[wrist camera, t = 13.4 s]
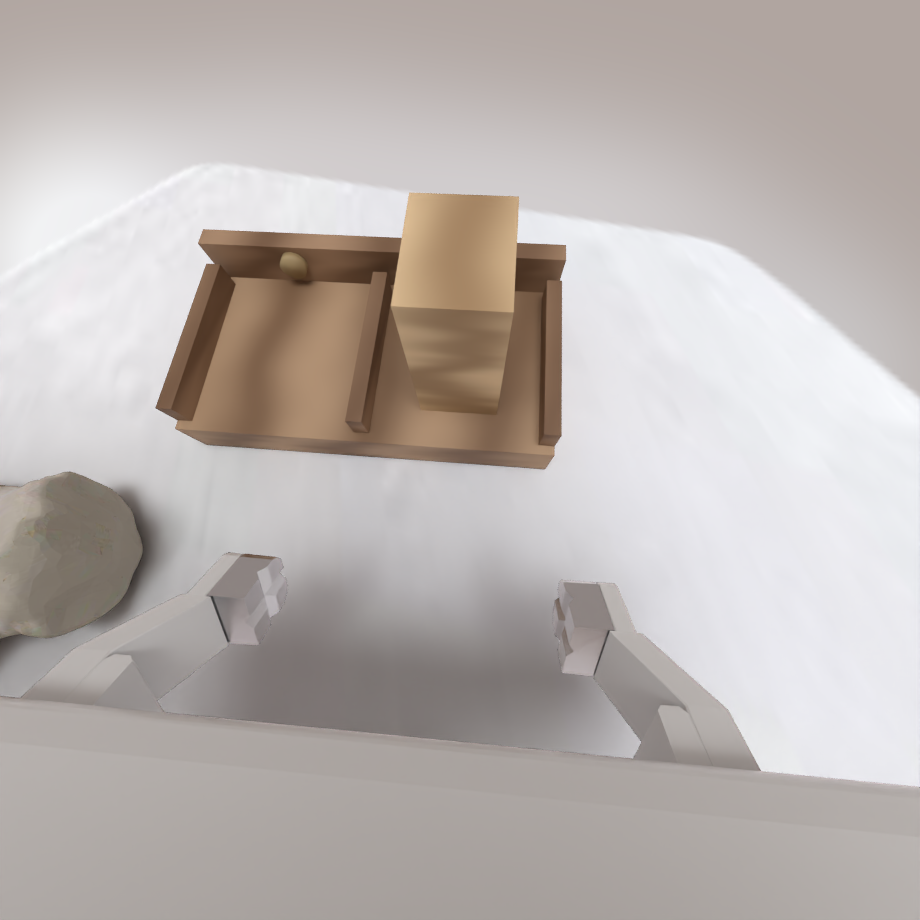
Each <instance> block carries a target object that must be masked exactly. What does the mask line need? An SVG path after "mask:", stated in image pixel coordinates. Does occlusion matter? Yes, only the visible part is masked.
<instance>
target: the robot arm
mask: <svg viewBox="0 0 920 920" xmlns="http://www.w3.org/2000/svg"><path fill="white" fill-rule="evenodd" d="M282 569H283V564H282V560H281V559H280V558H278V557H271V556H261V555H252V554H239V553H230V552H228V553H226V554H224V555H222V556H221V557H220V558H219V560H218V561H217V562H216V563H215V564H214V565H213V566H212V567H211V568H210V569H209V570H208V571H207V573H206V574H205V575H204V576H203V577H202V578H201V579H200V580H199V581H198V582H197V583H196V584H195V585H194V587H193V588H192V589H191V590H190V591H189V592H188V593H187V594H180V595H178V596H176V597H174V598H172V599H170V600H168V601H166V602H164V603H162V604H160V605H158V606H157V607H155V608H153V609H151V610H149V611H147V612H145V613H143V614H141V615H139V616H137V617H135V618H133V619H131V620H129V621H127V622H125V623H123V624H121V625H119V626H117V627H115V628H113V629H111V630H109V631H107V632H105V633H103V634H101V635H99V636H97V637H95V638H94V639H92V640H90V641H88V642H86V643H84V644H82V645H80V646H78V647H76V648H74V649H73V650H72V651H71V652H70V653H68V654H67V655H66V656H65V657H64V658H63V659H62V660H61V661H60V662H59V663H58V664H57V665H55V666H54V667H53V668H52V669H51V670H50V671H49V672H48V673H47V674H46V675H45V676H44V677H42V678H41V679H40V680H39V681H38V682H37V683H36V684H35V685H34V686H33V687H32V688H31V689H29V690H28V691H27V692H26V693H25V694H24V695H23V696H22V697H21V698H14V697H4V696H0V920H920V787H916V786H906V785H896V784H886V783H875V782H865V781H855V780H845V779H835V778H824V777H814V776H804V775H794V774H784V773H773V772H763V771H761V770H760V768H759V766H758V765H757V763H756V761H755V759H754V757H753V755H752V753H751V752H750V750H749V748H748V746H747V744H746V742H745V740H744V739H743V737H742V735H741V733H740V731H739V729H738V727H737V726H736V724H735V722H734V720H733V718H732V716H731V714H730V713H729V711H728V709H727V708H725V707H724V706H723V705H722V704H721V703H720V702H719V701H718V700H716V699H715V698H714V697H713V696H712V695H711V694H710V693H709V692H707V691H706V690H705V689H704V688H703V687H702V686H701V685H700V684H698V683H697V682H696V681H695V680H694V679H693V678H692V677H691V676H689V675H688V674H687V673H686V672H685V671H684V670H683V669H682V668H680V667H679V666H678V665H677V664H676V663H675V662H674V661H673V660H671V659H670V658H669V657H668V656H667V655H666V654H665V653H664V652H662V651H661V650H660V649H659V648H658V647H657V646H656V645H655V644H653V643H652V642H651V641H650V640H649V639H648V638H647V637H646V636H644V635H643V634H641V633H636V630H635V628H634V625H633V623H632V620H631V618H630V616H629V613H628V611H627V608H626V606H625V603H624V601H623V599H622V596H621V594H620V591H619V589H618V586H617V585H616V584H615V583H600V582H596V583H595V582H585V581H571V580H561V581H560V582H559V585H558V589H557V590H558V595H559V598H558V599H557V600H555V603H554V608H553V627H554V633H555V636H556V637H557V638H558V639H559V640H560V641H559V646H558V655H559V661H560V666H561V671H562V673H568V674H576V675H585V676H593V677H594V679H595V681H596V682H597V683H598V685H599V686H600V687H601V689H602V690H603V691H604V693H605V694H606V695H607V697H608V698H609V699H610V701H611V702H612V703H613V705H614V706H615V707H616V709H617V710H618V711H619V713H620V714H621V715H622V717H623V718H624V719H625V721H626V722H627V723H628V725H629V726H630V727H631V729H632V730H633V731H634V733H635V734H636V735H637V737H638V738H639V739H640V741H641V744H640V746H639V748H638V750H637V752H636V754H635V756H634V758H633V759H632V758H621V757H611V756H601V755H591V754H581V753H571V752H561V751H551V750H540V749H530V748H520V747H510V746H500V745H490V744H480V743H469V742H459V741H449V740H439V739H429V738H419V737H408V736H398V735H388V734H378V733H368V732H357V731H347V730H337V729H327V728H317V727H306V726H296V725H286V724H276V723H266V722H256V721H246V720H236V719H225V718H215V717H205V716H195V715H185V714H175V713H165V712H164V711H163V710H162V708H161V706H160V705H159V703H158V700H159V699H160V698H161V697H163V696H164V695H165V694H167V693H168V692H169V691H170V690H172V689H173V688H174V687H176V686H177V685H178V684H179V683H181V682H182V681H183V680H185V679H186V678H187V677H188V676H190V675H191V674H192V673H194V672H195V671H196V670H197V669H199V668H200V667H201V666H203V665H204V664H205V663H206V662H208V661H209V660H210V659H212V658H213V657H214V656H215V655H217V654H218V653H219V652H221V651H222V650H223V649H224V648H226V647H227V646H228V644H245V645H259V644H260V643H261V641H262V639H263V638H264V636H265V634H266V633H267V631H268V630H269V628H270V626H271V620H270V617H272V616H273V615H275V614H276V613H278V612H279V611H280V610H281V608H282V606H283V604H284V602H285V599H286V596H287V587H288V585H287V580H286V578H285V577H284V576H283V575H282V574H281V573H280V572H281V570H282Z"/></svg>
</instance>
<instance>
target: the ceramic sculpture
mask: <svg viewBox="0 0 920 920" xmlns="http://www.w3.org/2000/svg"><path fill="white" fill-rule="evenodd" d="M142 553H143V546H142V542H141V538H140V535H139V533H138V531H137V528H136V524H135V520H134V515H133V513H132V510H131V509H130V508H129V507H128V506H127V504H126V503H125V502H124V501H123V499H122V498H121V497H120V496H119V495H118V494H117V493H116V492H114V491H113V490H112V489H110V488H108V487H106V486H104V485H102V484H100V483H97V482H95V481H93V480H91V479H89V478H86V477H84V476H82V475H79V474H76V473H73V472H63V473H60V474H57V475H53V476H47V477H45V478H43V479H40V480H36V481H31V482H29V483H27V484H25V485H24V486H22V487H17V486H5V485H0V639H1V638H4V637H7V636H12V635H18V634H23V635H27V636H33V637H39V638H52V637H56V636H60V635H63V634H66V633H68V632H71V631H73V630H76V629H78V628H80V627H83V626H85V625H87V624H89V623H91V622H92V621H94V620H96V619H98V618H100V617H102V616H103V615H104V614H106V613H107V612H109V611H110V610H111V609H112V608H113V607H114V606H115V605H117V604H118V603H119V602H120V601H121V599H122V598H123V596H124V595H125V593H126V591H127V590H128V587H129V585H130V582H131V579H132V576H133V573H134V571H135V570H136V568H137V566H138V564H139V562H140V559H141V557H142Z"/></svg>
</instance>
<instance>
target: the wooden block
mask: <svg viewBox="0 0 920 920" xmlns="http://www.w3.org/2000/svg"><path fill="white" fill-rule="evenodd" d="M518 207H519V197H513V196H487V195H484V196H483V195H459V194H458V195H457V194H432V193H409V197H408V204H407V210H406V216H405V222H404V228H403V234H402V240H401V246H400V253H399V259H398V265H397V271H396V277H395V283H394V289H393V295H392V302H391V309H392V312H393V316H394V319H395V322H396V326H397V329H398V333H399V336H400V340H401V343H402V346H403V350H404V353H405V357H406V360H407V364H408V367H409V370H410V374H411V377H412V381H413V384H414V388H415V391H416V394H417V398H418V401H419V405H420V408H421V410H427V411H442V412H458V413H473V414H489V415H497V409H498V403H499V397H500V391H501V385H502V379H503V373H504V367H505V361H506V355H507V349H508V343H509V337H510V331H511V325H512V319H513V313H514V293H515V272H516V250H517V229H518Z"/></svg>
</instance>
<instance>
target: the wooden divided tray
mask: <svg viewBox="0 0 920 920" xmlns="http://www.w3.org/2000/svg"><path fill="white" fill-rule="evenodd" d="M401 240H402V238H389V237H366V236H343V235H320V234H297V233H274V232H251V231H228V230H205V229H203V231H202V234H201V237H200V240H199V242H198V244H199V245H200V246H201V248H202V249H203V250H204V251H205V253H206V254H207V255H208V256H209V257H210V259H211V260H212V261H213V262H214V264H206V267H205V269H204V272H203V275H202V278H201V281H200V284H199V286H198V289H197V292H196V295H195V298H194V301H193V303H192V306H191V309H190V312H189V315H188V318H187V320H186V323H185V326H184V329H183V332H182V334H181V337H180V340H179V343H178V346H177V349H176V351H175V354H174V357H173V360H172V363H171V366H170V368H169V371H168V374H167V377H166V380H165V383H164V385H163V388H162V391H161V394H160V397H159V400H158V402H157V405H156V409H158V410H160V411H162V412H164V413H165V414H167V415H169V416H171V417H173V418H175V419H177V420H178V421H177V424H176V427H175V429H176V430H178V431H180V432H182V433H184V434H186V435H188V436H190V437H192V438H194V439H196V440H198V441H200V442H202V443H204V444H206V445H218V446H232V447H246V448H260V449H274V450H288V451H302V452H316V453H329V454H343V455H357V456H371V457H385V458H399V459H413V460H426V461H440V462H454V463H468V464H482V465H496V466H510V467H524V468H537V469H545V468H546V467H547V465H548V464H549V462H550V461H551V460H552V458H553V457H554V446H555V445H556V443H557V442H558V440H559V438H560V437H561V387H562V281H560V278H561V274H562V271H563V268H564V265H565V261H566V245H550V244H527V243H517V250H516V272H515V293H514V313H513V319H512V325H511V331H510V337H509V343H508V349H507V355H506V361H505V367H504V373H503V379H502V385H501V391H500V397H499V403H498V409H497V415H489V414H473V413H458V412H442V411H427V410H421V408H420V405H419V401H418V398H417V394H416V391H415V388H414V384H413V381H412V377H411V374H410V370H409V367H408V364H407V360H406V357H405V353H404V350H403V346H402V343H401V340H400V336H399V333H398V329H397V326H396V322H395V319H394V316H393V312H392V309H391V302H392V295H393V289H394V283H395V277H396V271H397V265H398V259H399V253H400V246H401Z"/></svg>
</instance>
